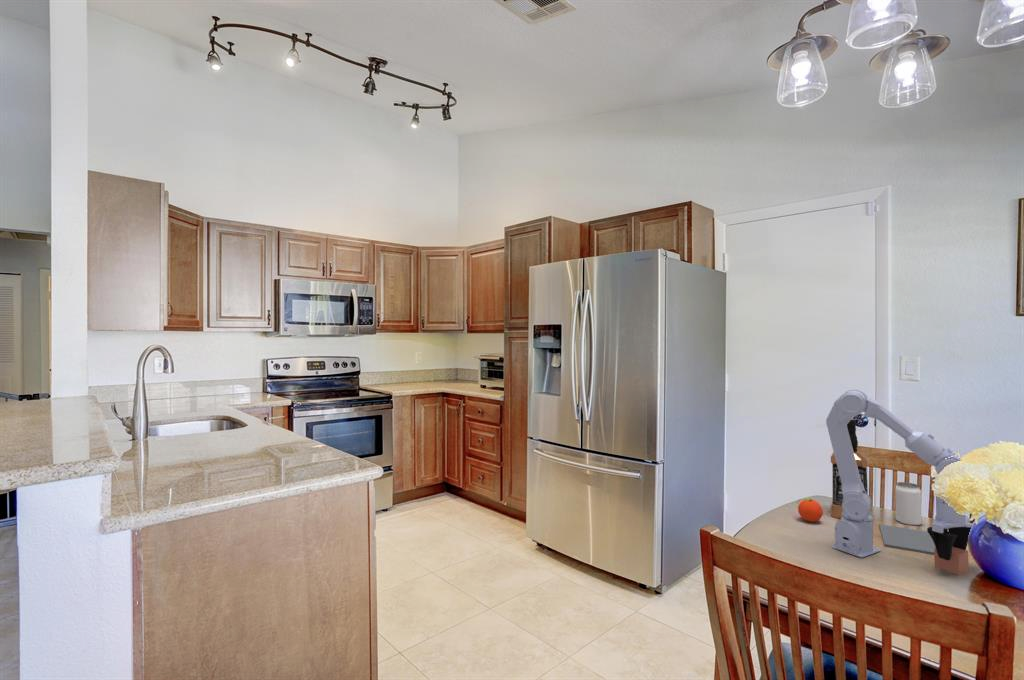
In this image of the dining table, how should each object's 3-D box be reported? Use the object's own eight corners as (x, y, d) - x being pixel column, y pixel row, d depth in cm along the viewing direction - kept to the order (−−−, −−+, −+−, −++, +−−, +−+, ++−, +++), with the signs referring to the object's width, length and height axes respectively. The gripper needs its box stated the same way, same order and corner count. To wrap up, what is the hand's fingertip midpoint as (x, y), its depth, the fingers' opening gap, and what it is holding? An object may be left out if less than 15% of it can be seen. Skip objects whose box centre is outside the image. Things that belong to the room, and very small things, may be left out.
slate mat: (949, 557, 134) (949, 555, 134) (884, 546, 141) (884, 544, 141) (937, 535, 149) (937, 533, 149) (879, 526, 156) (879, 524, 156)
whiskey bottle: (830, 517, 165) (829, 420, 165) (833, 508, 172) (832, 416, 173) (869, 523, 158) (868, 422, 159) (870, 515, 166) (869, 418, 166)
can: (898, 523, 158) (897, 486, 158) (893, 517, 164) (893, 480, 164) (924, 527, 155) (923, 488, 155) (918, 520, 161) (918, 483, 161)
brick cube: (959, 575, 124) (958, 555, 124) (934, 567, 128) (934, 547, 128) (968, 571, 126) (968, 551, 126) (944, 563, 130) (943, 544, 130)
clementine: (790, 518, 164) (789, 496, 164) (804, 515, 167) (803, 493, 167) (813, 526, 157) (813, 503, 157) (828, 522, 160) (827, 500, 160)
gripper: (956, 511, 120) (957, 567, 120) (983, 501, 127) (985, 555, 127) (921, 503, 126) (922, 557, 126) (949, 494, 133) (950, 545, 133)
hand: (951, 555), depth 127 cm, fingers open, 7 cm apart
